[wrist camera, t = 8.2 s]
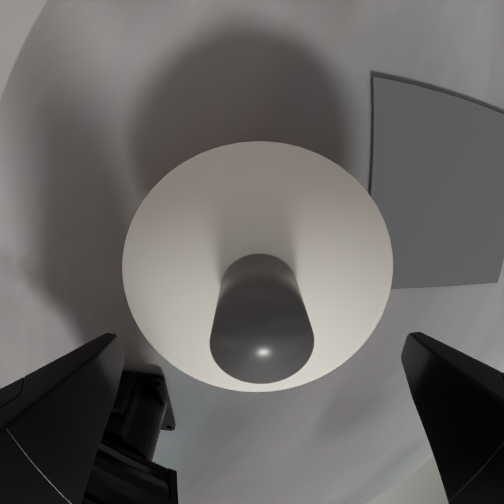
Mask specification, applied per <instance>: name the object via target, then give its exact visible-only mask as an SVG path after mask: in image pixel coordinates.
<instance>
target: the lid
mask: <svg viewBox="0 0 504 504" xmlns="http://www.w3.org/2000/svg"><path fill="white" fill-rule="evenodd" d="M122 275H123V285H124V290H125V294H126V299H127V303H128V305H129V308H130V310H131V313H132V315H133V318H134V320H135V321H136V323H137V325H138V327H139V329H140V330H141V332H142V333H143V335H144V336H145V337H146V339H147V340H148V342H149V343H150V344H151V345H152V346H153V347H154V348H155V349H156V351H157V352H158V353H159V354H160V355H161V356H163V357H164V358H165V359H166V360H167V361H168V362H170V363H171V364H172V365H174V366H175V367H177V368H178V369H180V370H181V371H183V372H184V373H186V374H188V375H190V376H192V377H194V378H196V379H198V380H200V381H203V382H205V383H208V384H211V385H214V386H217V387H221V388H225V389H230V390H236V391H245V392H267V391H277V390H283V389H288V388H292V387H296V386H299V385H303V384H305V383H308V382H310V381H313V380H315V379H318V378H320V377H321V376H323V375H325V374H327V373H329V372H331V371H332V370H334V369H335V368H337V367H338V366H340V365H341V364H343V363H344V362H345V361H346V360H347V359H349V358H350V357H351V356H352V355H353V354H354V353H355V352H356V351H357V350H358V349H359V348H360V347H361V346H362V345H363V344H364V343H365V341H366V340H367V339H368V337H369V336H370V335H371V333H372V332H373V331H374V329H375V327H376V325H377V324H378V322H379V320H380V318H381V316H382V314H383V311H384V309H385V306H386V304H387V301H388V297H389V293H390V289H391V284H392V275H393V254H392V247H391V241H390V237H389V234H388V230H387V227H386V224H385V221H384V219H383V217H382V215H381V213H380V211H379V209H378V207H377V205H376V204H375V202H374V201H373V199H372V198H371V196H370V195H369V194H368V192H367V191H366V190H365V189H364V187H363V186H362V185H361V184H360V183H359V182H358V181H357V180H356V179H355V178H354V177H353V176H352V175H350V174H349V173H348V172H347V171H345V170H344V169H343V168H342V167H340V166H339V165H338V164H336V163H334V162H332V161H331V160H329V159H327V158H325V157H324V156H322V155H320V154H317V153H315V152H312V151H310V150H307V149H305V148H302V147H298V146H294V145H289V144H285V143H279V142H267V141H252V142H238V143H234V144H229V145H224V146H219V147H216V148H214V149H211V150H208V151H205V152H203V153H200V154H198V155H196V156H194V157H192V158H190V159H189V160H187V161H185V162H183V163H181V164H180V165H178V166H177V167H176V168H174V169H173V170H172V171H170V172H169V173H168V174H166V175H165V176H164V177H163V178H162V179H161V180H160V181H159V182H158V183H157V184H156V185H155V186H154V187H153V188H152V189H151V191H150V192H149V193H148V195H147V196H146V197H145V199H144V200H143V202H142V203H141V204H140V206H139V208H138V210H137V212H136V214H135V216H134V218H133V219H132V222H131V225H130V227H129V230H128V233H127V236H126V240H125V245H124V251H123V262H122Z"/></svg>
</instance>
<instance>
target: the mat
mask: <svg viewBox="0 0 504 504" xmlns="http://www.w3.org/2000/svg"><path fill="white" fill-rule="evenodd" d="M371 81H372V148H371V171H370V188H369V195H370V196H371V198H372V199H373V201H374V202H375V204H376V205H377V207H378V209H379V211H380V213H381V215H382V217H383V219H384V221H385V224H386V227H387V230H388V234H389V237H390V241H391V247H392V254H393V275H392V284H391V289H399V288H421V287H439V286H456V285H470V284H484V283H497V282H498V279H499V275H500V271H501V267H502V263H503V259H504V114H502V113H499V112H497V111H494V110H492V109H489V108H487V107H484V106H481V105H478V104H476V103H473V102H470V101H467V100H464V99H461V98H458V97H455V96H452V95H448V94H445V93H442V92H438V91H435V90H431V89H427V88H424V87H420V86H416V85H412V84H407V83H403V82H399V81H394V80H389V79H384V78H379V77H374V76H373V77H371Z"/></svg>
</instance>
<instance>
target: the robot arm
mask: <svg viewBox="0 0 504 504" xmlns="http://www.w3.org/2000/svg"><path fill="white" fill-rule="evenodd" d="M401 360H402V364H403V367H404V370H405V374H406V377H407V381H408V384H409V388H410V391H411V395H412V398H413V400H414V403H415V406H416V408H417V411H418V413H419V416H420V419H421V421H422V424H423V427H424V429H425V432H426V435H427V438H428V440H429V443H430V446H431V449H432V452H433V455H434V457H435V460H436V463H437V466H438V470H439V472H440V476H441V479H442V482H443V486H444V489H445V492H446V496H447V499H448V502H449V504H504V373H502V372H500V371H498V370H496V369H494V368H492V367H490V366H488V365H486V364H484V363H482V362H480V361H478V360H476V359H474V358H472V357H470V356H468V355H466V354H464V353H462V352H460V351H458V350H456V349H454V348H452V347H450V346H448V345H446V344H444V343H442V342H440V341H438V340H436V339H433V338H431V337H429V336H427V335H425V334H423V333H421V332H414V333H409V334H408V336H407V338H406V341H405V344H404V348H403V351H402V355H401ZM124 363H125V355H124V351H123V347H122V343H121V339H120V337H119V335H118V334H112V333H105V334H104V335H102V336H100V337H98V338H96V339H94V340H92V341H90V342H89V343H87V344H85V345H83V346H81V347H79V348H77V349H75V350H74V351H72V352H70V353H68V354H66V355H64V356H62V357H60V358H59V359H57V360H55V361H53V362H51V363H49V364H47V365H45V366H44V367H42V368H40V369H38V370H36V371H34V372H32V373H30V374H29V375H27V376H25V377H24V378H21V379H19V380H17V381H15V382H13V383H11V384H9V385H7V386H5V387H3V388H1V389H0V504H178V491H177V472H176V471H175V470H172V469H170V468H169V469H167V468H165V467H163V466H161V465H158V464H156V463H154V462H152V459H153V455H154V451H155V447H156V444H157V440H158V436H159V433H160V429H161V430H169V431H172V430H174V429H175V421H174V417H173V413H172V409H171V405H170V401H169V397H168V393H167V388H166V384H165V380H164V378H163V377H162V376H160V375H153V374H143V373H135V372H127V371H123V367H124ZM157 381H159V382H157Z"/></svg>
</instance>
